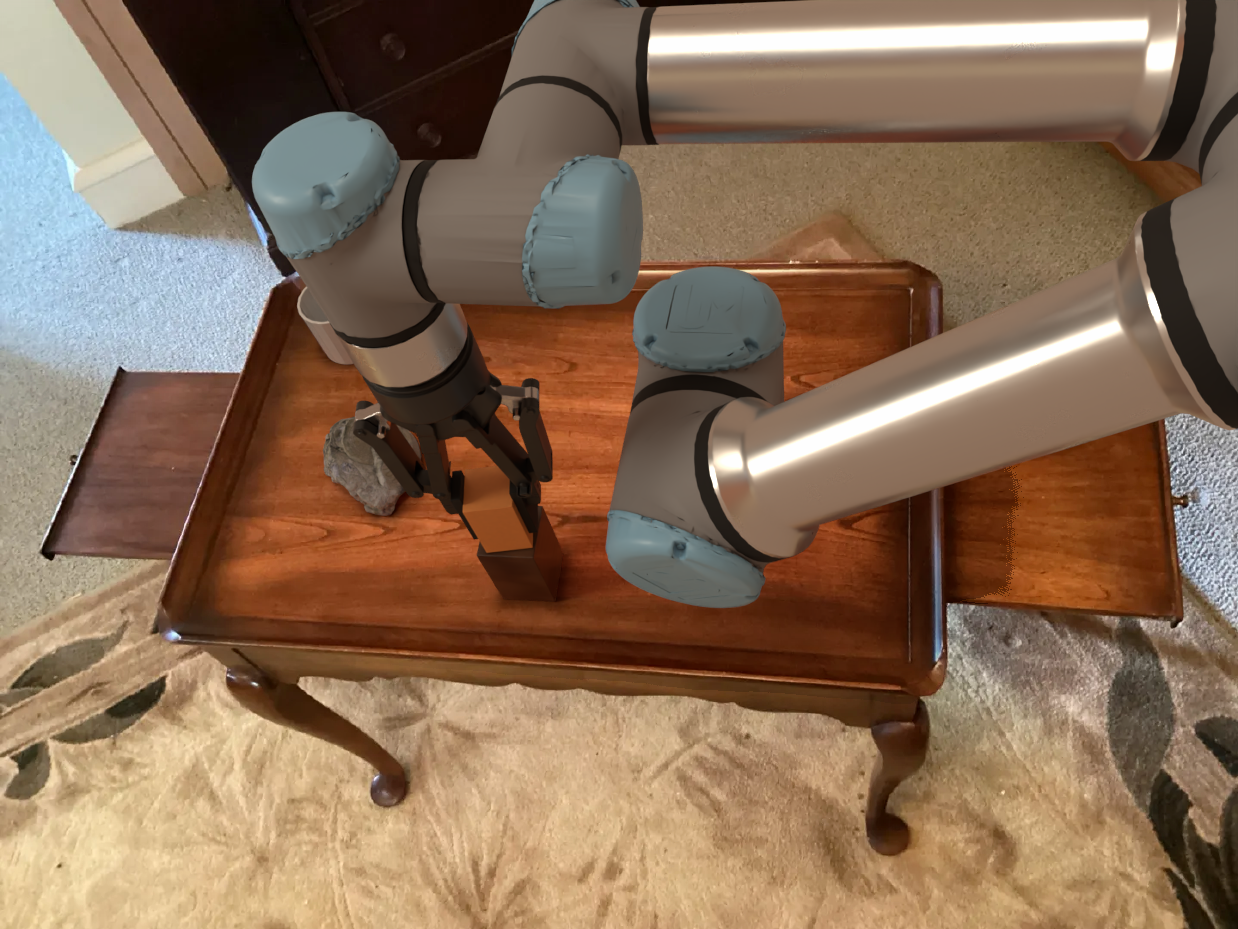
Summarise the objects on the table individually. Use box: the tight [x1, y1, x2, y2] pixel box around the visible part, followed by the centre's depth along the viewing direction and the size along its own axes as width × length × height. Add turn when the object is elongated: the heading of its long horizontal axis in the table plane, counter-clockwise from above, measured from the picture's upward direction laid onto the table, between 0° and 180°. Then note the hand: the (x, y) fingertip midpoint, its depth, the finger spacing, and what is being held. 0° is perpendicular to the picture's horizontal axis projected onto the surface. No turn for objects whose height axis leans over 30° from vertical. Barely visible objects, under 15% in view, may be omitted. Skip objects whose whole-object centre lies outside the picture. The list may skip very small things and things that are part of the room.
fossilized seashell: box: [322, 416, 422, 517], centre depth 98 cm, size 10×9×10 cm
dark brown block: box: [476, 505, 564, 603], centre depth 86 cm, size 5×5×9 cm
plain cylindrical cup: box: [296, 285, 354, 365], centre depth 106 cm, size 7×7×7 cm
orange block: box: [463, 465, 533, 553], centre depth 79 cm, size 4×4×7 cm
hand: (505, 521), depth 80 cm, fingers closed on orange block, 4 cm apart
